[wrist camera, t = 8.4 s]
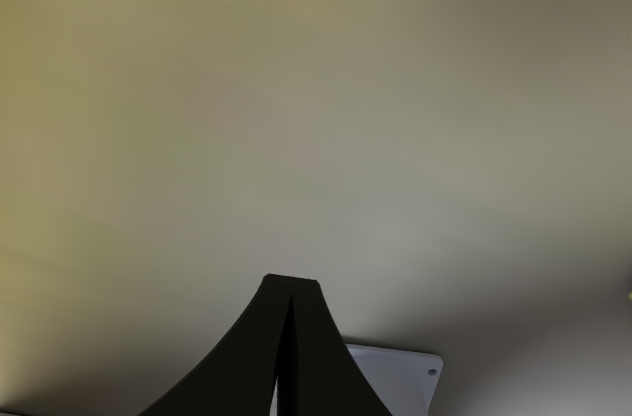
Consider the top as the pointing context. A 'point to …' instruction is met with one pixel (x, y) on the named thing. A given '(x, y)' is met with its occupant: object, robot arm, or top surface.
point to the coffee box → (5, 415)
